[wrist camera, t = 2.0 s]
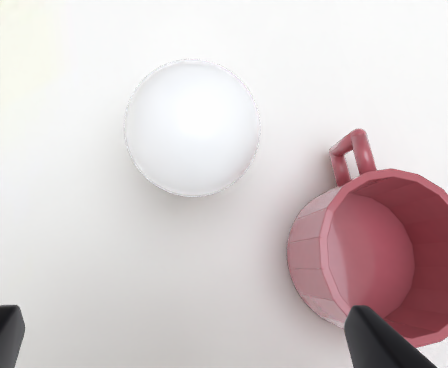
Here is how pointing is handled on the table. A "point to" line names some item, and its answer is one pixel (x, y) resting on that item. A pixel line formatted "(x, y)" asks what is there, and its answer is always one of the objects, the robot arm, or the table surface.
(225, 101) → the lightbulb
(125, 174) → the table surface
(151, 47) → the table surface
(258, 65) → the table surface
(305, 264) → the mug
